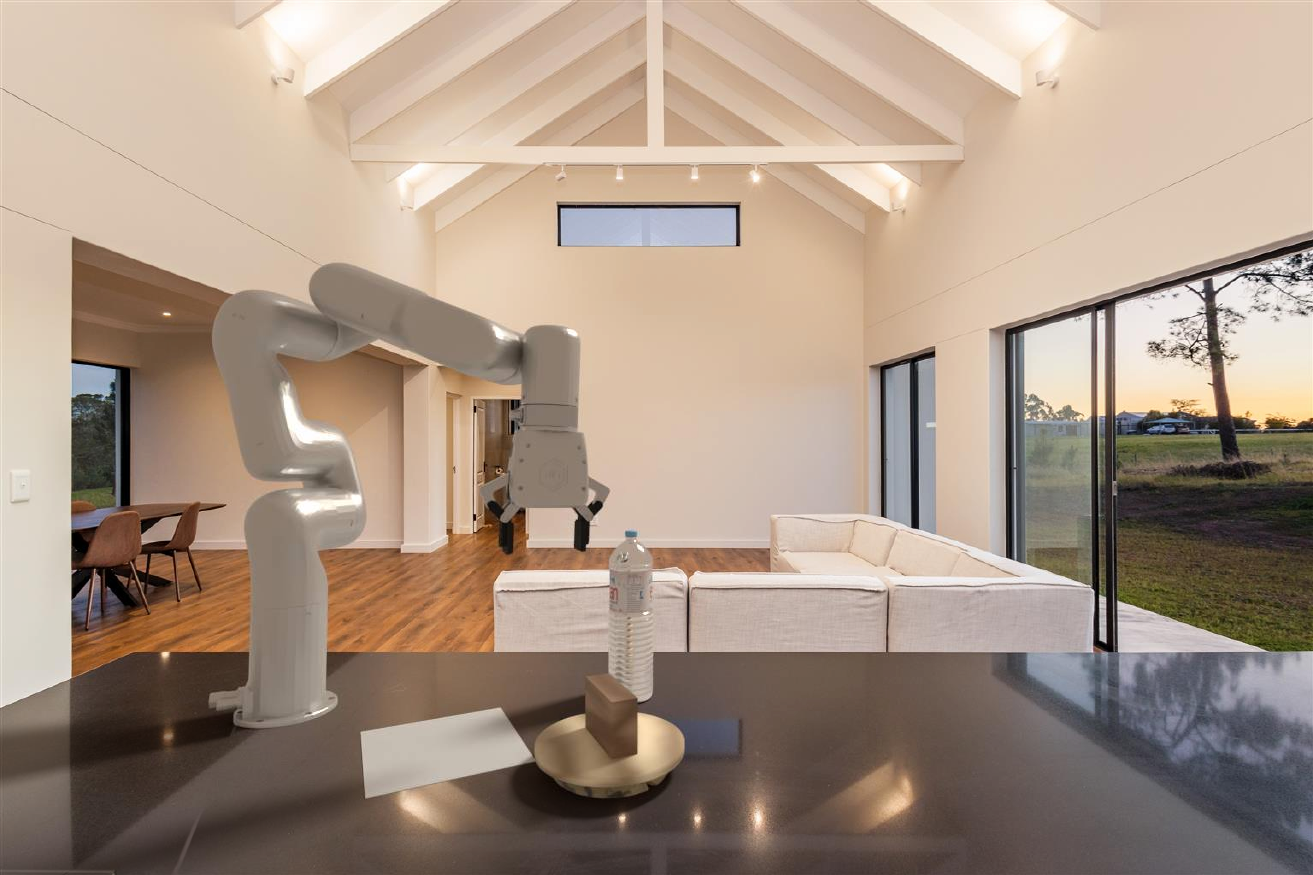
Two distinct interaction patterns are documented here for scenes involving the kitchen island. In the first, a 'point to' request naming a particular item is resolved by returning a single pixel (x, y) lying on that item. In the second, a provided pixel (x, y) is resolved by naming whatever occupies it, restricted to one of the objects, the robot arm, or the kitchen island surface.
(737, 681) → the kitchen island surface
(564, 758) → the lid
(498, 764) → the mat
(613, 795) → the decorative bowl
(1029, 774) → the kitchen island surface
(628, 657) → the water bottle
